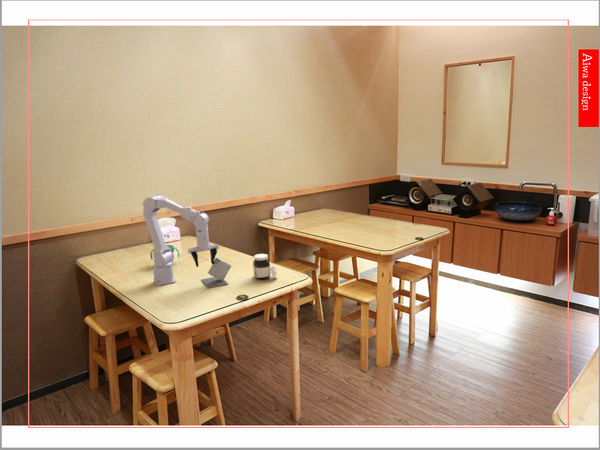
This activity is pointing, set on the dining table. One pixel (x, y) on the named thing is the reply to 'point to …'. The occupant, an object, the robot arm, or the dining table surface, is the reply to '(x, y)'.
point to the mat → (214, 282)
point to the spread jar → (263, 267)
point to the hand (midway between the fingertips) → (204, 265)
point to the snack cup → (170, 249)
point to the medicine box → (219, 269)
